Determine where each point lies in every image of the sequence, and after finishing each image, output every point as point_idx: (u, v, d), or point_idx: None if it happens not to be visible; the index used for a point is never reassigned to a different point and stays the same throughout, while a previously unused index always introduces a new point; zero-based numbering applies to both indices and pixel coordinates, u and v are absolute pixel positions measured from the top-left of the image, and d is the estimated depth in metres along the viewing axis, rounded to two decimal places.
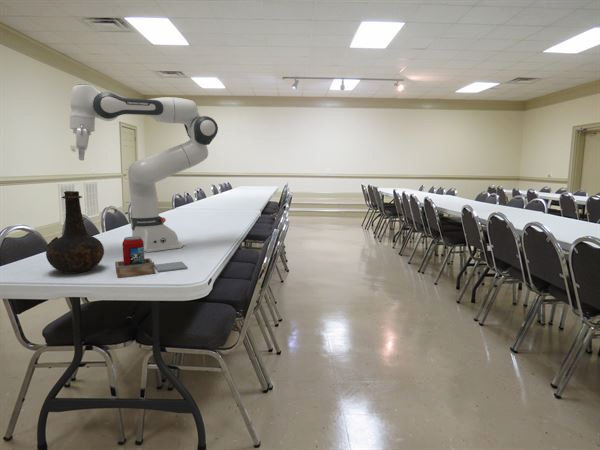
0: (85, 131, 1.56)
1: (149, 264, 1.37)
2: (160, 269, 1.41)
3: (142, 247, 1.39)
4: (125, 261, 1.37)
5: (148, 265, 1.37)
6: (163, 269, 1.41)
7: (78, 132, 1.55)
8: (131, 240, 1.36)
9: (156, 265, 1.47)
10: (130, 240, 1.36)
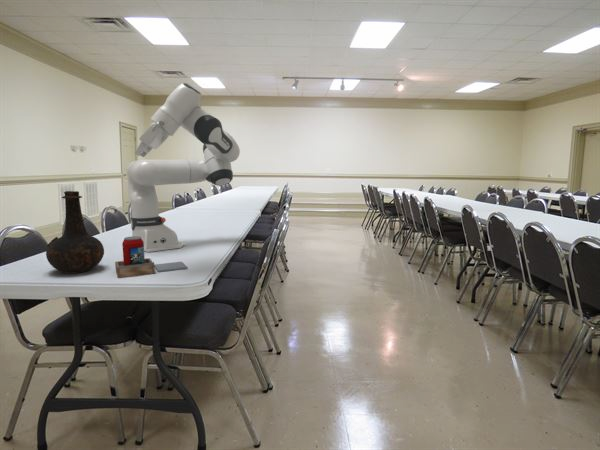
0: (158, 129, 1.30)
1: (149, 264, 1.37)
2: (160, 269, 1.41)
3: (142, 247, 1.39)
4: (125, 261, 1.37)
5: (148, 265, 1.37)
6: (163, 269, 1.41)
7: (150, 126, 1.29)
8: (131, 240, 1.36)
9: (156, 265, 1.47)
10: (130, 240, 1.36)
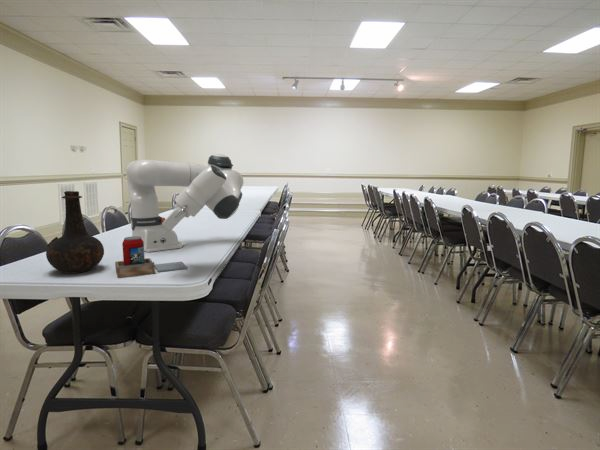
0: (182, 216, 1.31)
1: (149, 264, 1.37)
2: (160, 269, 1.41)
3: (142, 247, 1.39)
4: (125, 261, 1.37)
5: (148, 265, 1.37)
6: (163, 269, 1.41)
7: (174, 213, 1.30)
8: (131, 240, 1.36)
9: (156, 265, 1.47)
10: (130, 240, 1.36)
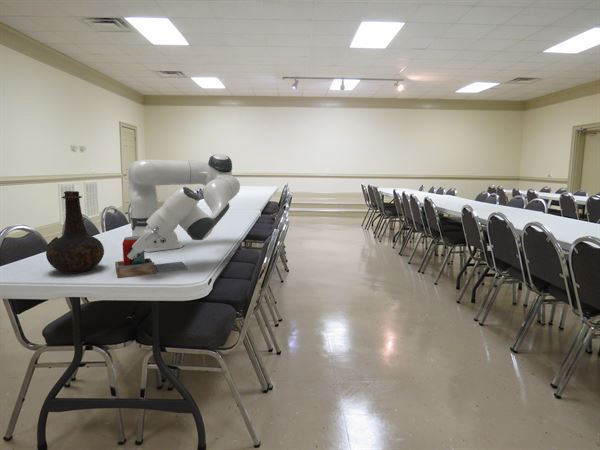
0: (152, 238, 1.31)
1: (149, 264, 1.37)
2: (160, 269, 1.41)
3: None
4: (125, 261, 1.37)
5: (148, 265, 1.37)
6: (163, 269, 1.41)
7: (144, 235, 1.30)
8: (131, 240, 1.36)
9: (156, 265, 1.47)
10: (130, 240, 1.36)
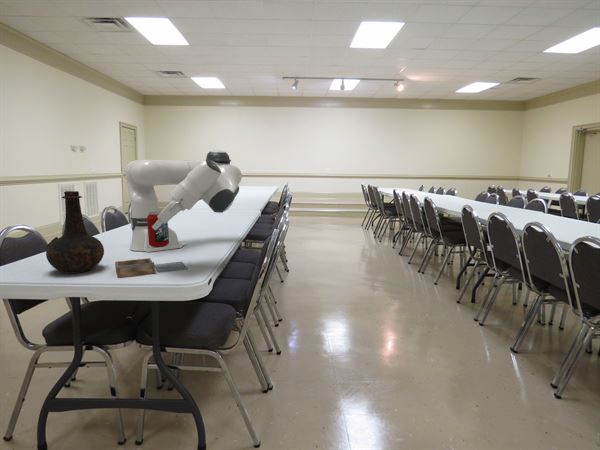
0: (177, 209, 1.33)
1: (149, 264, 1.37)
2: (160, 269, 1.41)
3: None
4: (150, 235, 1.40)
5: (148, 265, 1.37)
6: (163, 269, 1.41)
7: (169, 206, 1.32)
8: (156, 214, 1.38)
9: (156, 265, 1.47)
10: (155, 215, 1.38)
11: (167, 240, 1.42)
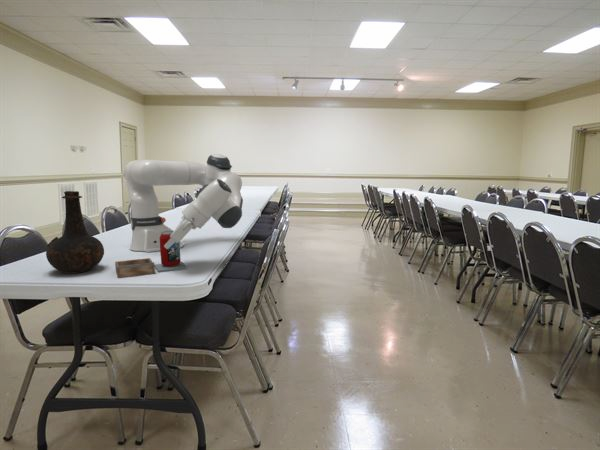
0: (189, 228, 1.36)
1: (149, 264, 1.37)
2: (160, 269, 1.41)
3: None
4: (163, 255, 1.43)
5: (148, 265, 1.37)
6: (163, 269, 1.41)
7: (181, 226, 1.35)
8: (168, 234, 1.42)
9: (156, 265, 1.47)
10: (167, 235, 1.42)
11: (179, 259, 1.46)
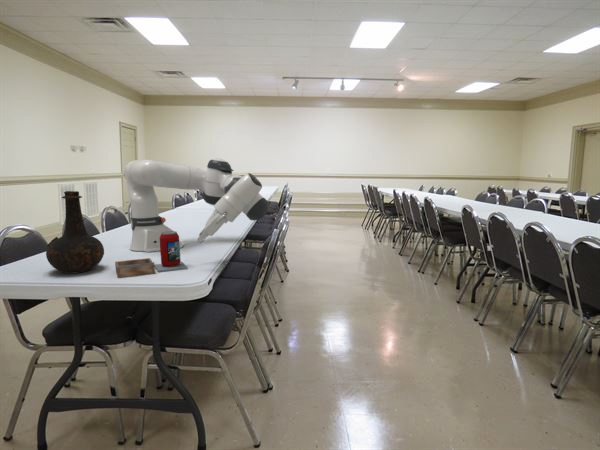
0: (222, 222, 1.38)
1: (149, 264, 1.37)
2: (160, 269, 1.41)
3: (178, 241, 1.45)
4: (163, 255, 1.44)
5: (148, 265, 1.37)
6: (163, 269, 1.41)
7: (215, 219, 1.37)
8: (168, 234, 1.43)
9: (156, 265, 1.47)
10: (167, 235, 1.43)
11: (179, 259, 1.46)
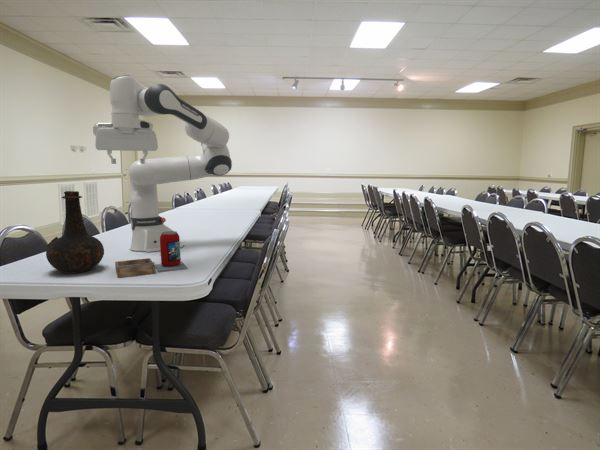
0: (97, 130, 1.37)
1: (149, 264, 1.37)
2: (160, 269, 1.41)
3: (178, 242, 1.45)
4: (163, 255, 1.44)
5: (148, 265, 1.37)
6: (163, 269, 1.41)
7: None
8: (169, 234, 1.43)
9: (156, 265, 1.47)
10: (168, 235, 1.43)
11: (179, 259, 1.46)
